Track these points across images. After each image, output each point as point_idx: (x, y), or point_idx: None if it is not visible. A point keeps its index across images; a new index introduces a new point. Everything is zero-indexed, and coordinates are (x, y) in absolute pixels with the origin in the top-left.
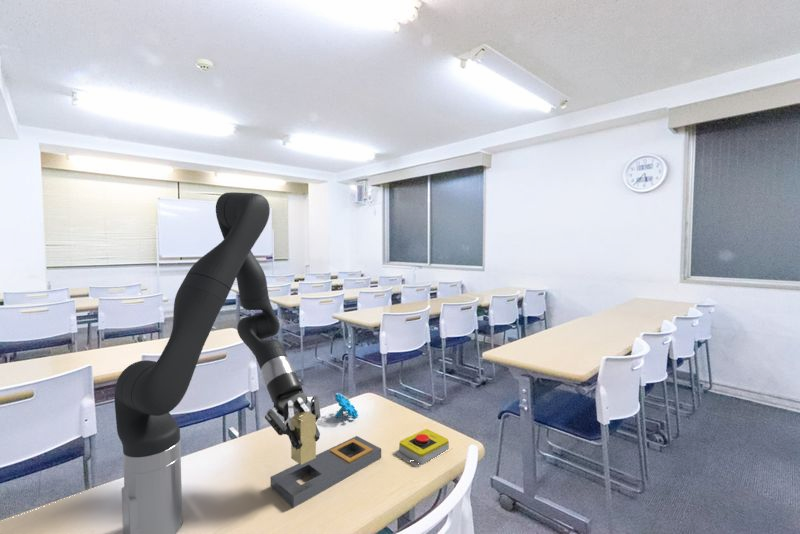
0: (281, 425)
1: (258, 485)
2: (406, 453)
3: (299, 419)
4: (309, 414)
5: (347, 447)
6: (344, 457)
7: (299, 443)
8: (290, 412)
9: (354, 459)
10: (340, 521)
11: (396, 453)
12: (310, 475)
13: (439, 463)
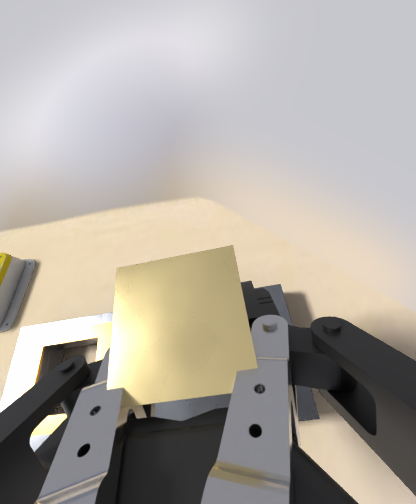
0: (358, 342)
1: (346, 457)
2: (5, 299)
3: (227, 276)
4: (132, 311)
5: (55, 414)
6: (105, 349)
7: (249, 283)
8: (267, 405)
9: (95, 324)
10: (220, 217)
11: (11, 322)
12: None
13: (8, 247)
